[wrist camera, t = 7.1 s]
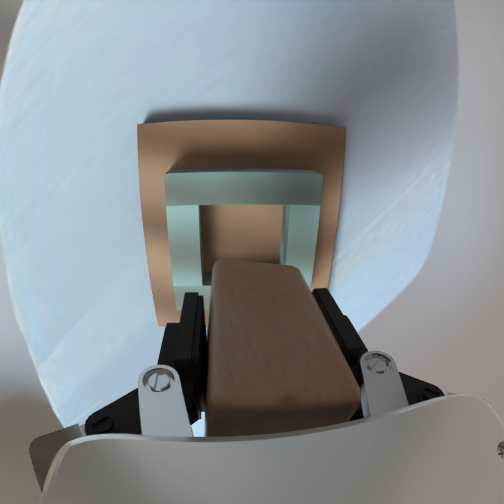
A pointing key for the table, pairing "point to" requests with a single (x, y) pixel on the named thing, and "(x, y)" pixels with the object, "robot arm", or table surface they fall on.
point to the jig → (236, 201)
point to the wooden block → (271, 355)
